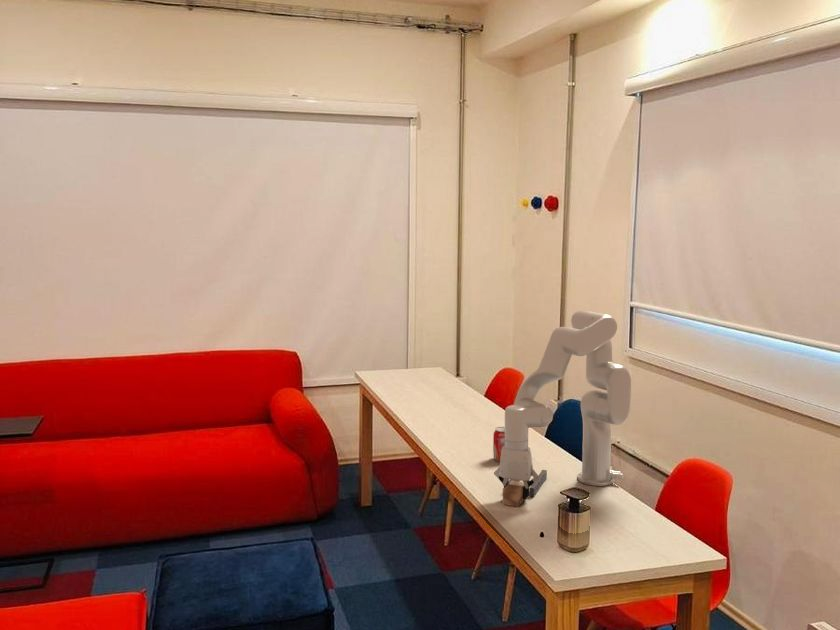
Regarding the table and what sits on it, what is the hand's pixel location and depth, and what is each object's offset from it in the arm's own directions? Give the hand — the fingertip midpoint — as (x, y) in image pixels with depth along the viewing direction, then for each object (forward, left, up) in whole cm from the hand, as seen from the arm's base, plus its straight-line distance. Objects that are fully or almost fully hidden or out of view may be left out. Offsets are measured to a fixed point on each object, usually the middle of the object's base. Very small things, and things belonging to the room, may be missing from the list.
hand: (516, 496), depth 243 cm
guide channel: (0, -14, -1) cm, 14 cm away
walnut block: (0, +1, -1) cm, 2 cm away
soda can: (+15, -36, -1) cm, 39 cm away
